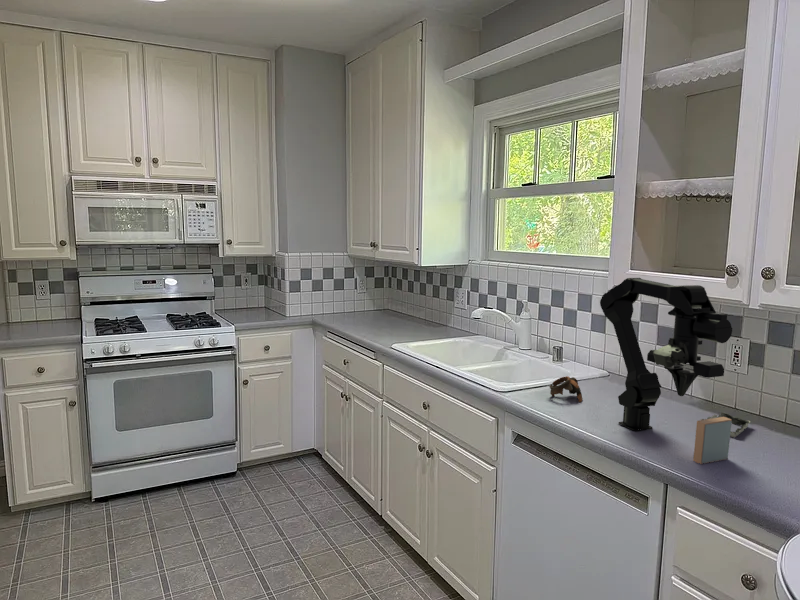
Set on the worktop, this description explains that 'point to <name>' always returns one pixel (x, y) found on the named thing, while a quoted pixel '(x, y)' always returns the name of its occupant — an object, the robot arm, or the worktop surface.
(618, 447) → the worktop surface
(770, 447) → the worktop surface
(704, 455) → the flat brown rectangular block
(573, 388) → the brown arched part
